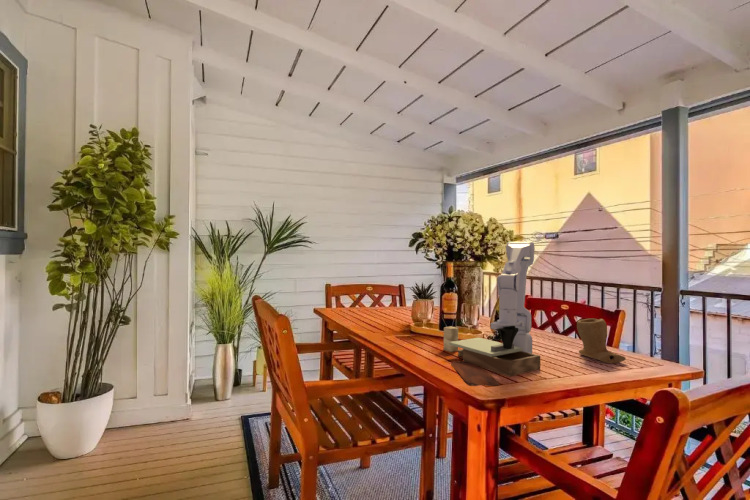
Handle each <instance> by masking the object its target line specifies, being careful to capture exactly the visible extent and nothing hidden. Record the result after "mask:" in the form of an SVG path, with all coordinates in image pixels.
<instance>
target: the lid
mask: <svg viewBox="0 0 750 500" xmlns="http://www.w3.org/2000/svg"><path fill="white" fill-rule="evenodd" d="M449 345H452V346H455V347H458V349H461V350H462V349H466V350H469V351H473V352H476V353H480V354H483V355H487V356H490V357H493V356H498V355H504V354H509V353H514V352H519V351H522V348H520V347H516V346H514V344H512V348H511V349H505V348H504V346H503V342H499V341H497V340H496V341H495V340H491V339H487V338H484V337H483V338H482V337H474V338H467V339H462V340H459V339H458V341H453V342H449Z"/></svg>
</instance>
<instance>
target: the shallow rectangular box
mask: <svg viewBox="0 0 750 500" xmlns="http://www.w3.org/2000/svg"><path fill="white" fill-rule="evenodd" d="M457 356H458V357H462V361H464V362H469V363H472V364H475V365H478V366H480V367H481V368H482V369H484V370H488V371H490V372H493V373H497V374H500V375H503V376H507V377H514V376H517V375H521V374H522V375H523V374H526V373H529V372H534V371H537V370H538V371H539V370H541V355H539V354H535V353H533V352H532V353H528V352H524V351H519V352H514V353H509V354H504V355H498V356H493V357H490V356H487V355H483V354H480V353H476V352H473V351H469V350H466V349H462V348H461V349H458V351H457Z"/></svg>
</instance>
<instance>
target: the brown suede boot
mask: <svg viewBox="0 0 750 500" xmlns="http://www.w3.org/2000/svg"><path fill="white" fill-rule="evenodd" d="M576 329H577V332H578V334H579V337H580V339H581V342H582V345H583V346H582V347H583V348H582V349H580V350H578V354H580V355H582V356H585V357H588V358H591V359H593V360H597V361H600V362H603V363H606V364H618V363H622V362H625V361H626V359H627V358H626V357H625V356H623V355H621V354H617V353H614V352H612V351H609V350H608V349H607V340H608V339H607V338H608V326H607V322H606V321H605V319H603V318H599V319H597V318H585V319H579V320H578V321H577V322H576Z"/></svg>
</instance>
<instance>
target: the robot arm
mask: <svg viewBox="0 0 750 500" xmlns="http://www.w3.org/2000/svg"><path fill="white" fill-rule="evenodd" d="M505 252H506V256H507V257H506V258H507V261H506V262H505V264H504V267H503V269H502V273H501V274H499V275H498V277H497V281H496V282H497V284H496V285H497V291H498V296H499V297H498V298H499V299H498V300H499V305H498V311H499V313H498V318H499V319H497V320H496V321H493V322H490V329H492V330H497V331H498V334H499V336H500V338H501V343H503V346H504V348H505V349H511V348H512V344H514V346H516V347H520V348H522V351H524V352H528V353H532V354H533V337H532V335H531V334H530V332H531V330H532V314H531V312H530V310H528V309H527V308H526V307H525V301H526V290H527V289H526V288H527V287H526V285H527V276H528V274H527V273H528V270H529V267H530V266H532V265H533V264H534V262H535V243H534V242H533V241H532V240H531V241H508V242H507V243H506V247H505Z"/></svg>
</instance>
